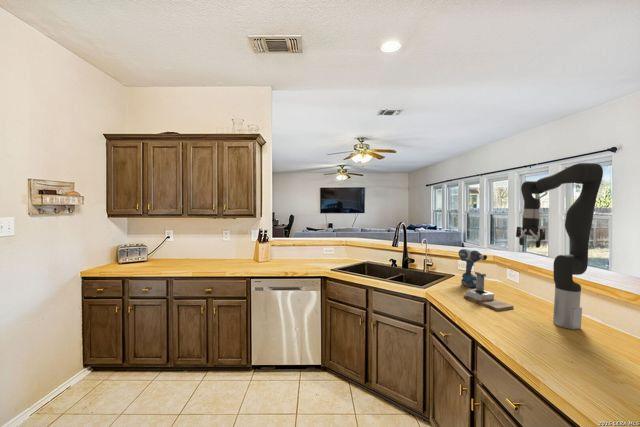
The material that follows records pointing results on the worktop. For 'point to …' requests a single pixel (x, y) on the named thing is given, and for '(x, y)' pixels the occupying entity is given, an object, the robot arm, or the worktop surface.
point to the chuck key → (480, 282)
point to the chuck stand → (486, 300)
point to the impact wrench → (470, 265)
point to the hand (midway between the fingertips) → (529, 246)
